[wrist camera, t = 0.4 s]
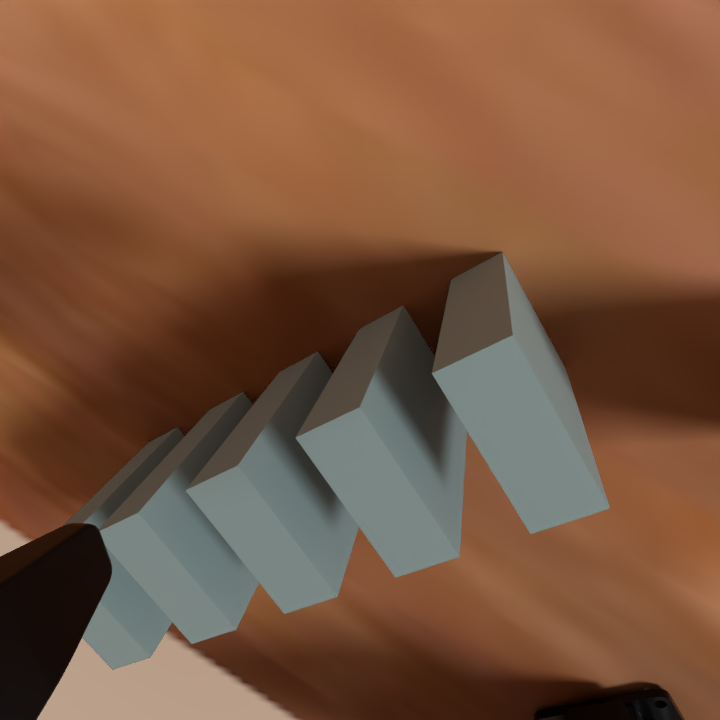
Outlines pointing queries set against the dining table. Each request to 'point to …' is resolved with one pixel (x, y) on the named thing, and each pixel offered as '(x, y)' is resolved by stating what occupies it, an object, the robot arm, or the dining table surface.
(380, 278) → the dining table surface
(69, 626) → the robot arm
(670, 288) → the dining table surface
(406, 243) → the dining table surface
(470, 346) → the domino
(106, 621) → the domino
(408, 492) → the domino
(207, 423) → the domino
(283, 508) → the domino
